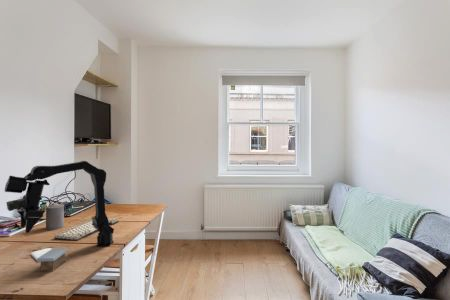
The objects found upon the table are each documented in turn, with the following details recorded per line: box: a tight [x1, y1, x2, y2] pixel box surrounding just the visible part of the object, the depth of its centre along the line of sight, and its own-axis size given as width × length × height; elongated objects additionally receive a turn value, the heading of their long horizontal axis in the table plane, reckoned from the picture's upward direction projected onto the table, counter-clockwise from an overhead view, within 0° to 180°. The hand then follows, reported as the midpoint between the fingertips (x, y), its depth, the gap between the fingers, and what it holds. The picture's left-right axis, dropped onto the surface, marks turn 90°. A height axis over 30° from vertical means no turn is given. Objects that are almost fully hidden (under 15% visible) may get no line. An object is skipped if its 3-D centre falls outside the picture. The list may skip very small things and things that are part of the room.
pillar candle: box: [45, 203, 65, 231], centre depth 167 cm, size 10×10×15 cm
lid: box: [36, 248, 68, 262], centre depth 114 cm, size 7×10×1 cm, turn 3°
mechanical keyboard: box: [53, 218, 119, 241], centre depth 163 cm, size 38×19×3 cm, turn 171°
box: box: [40, 253, 66, 272], centre depth 114 cm, size 5×9×4 cm, turn 2°
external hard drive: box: [30, 247, 52, 263], centre depth 125 cm, size 2×8×12 cm
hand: (24, 230), depth 115 cm, fingers open, 9 cm apart
